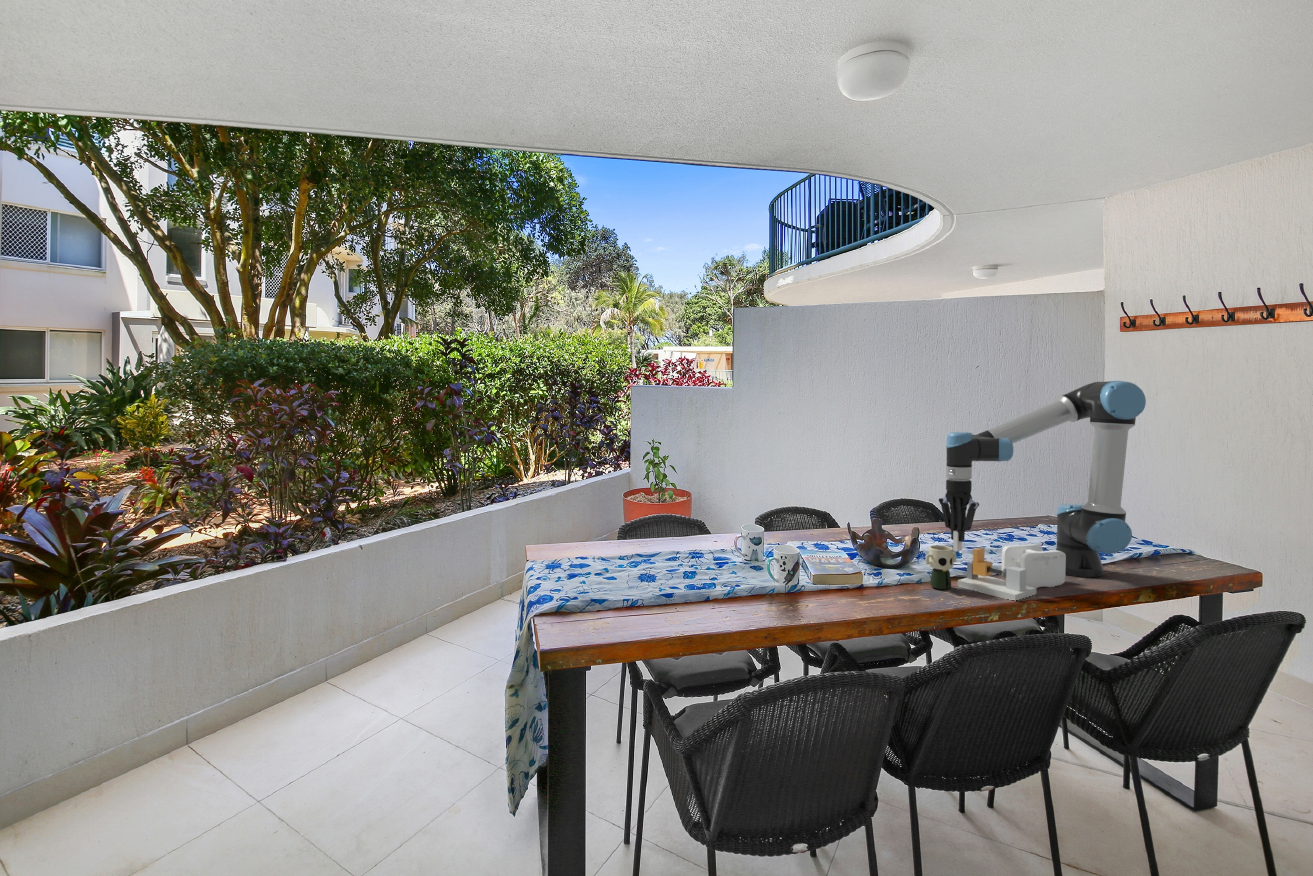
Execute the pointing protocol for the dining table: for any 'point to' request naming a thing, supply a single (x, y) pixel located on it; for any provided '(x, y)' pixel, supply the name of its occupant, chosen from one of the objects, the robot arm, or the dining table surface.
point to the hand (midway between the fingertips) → (957, 550)
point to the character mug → (941, 565)
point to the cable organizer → (1036, 564)
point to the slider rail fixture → (999, 583)
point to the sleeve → (980, 563)
